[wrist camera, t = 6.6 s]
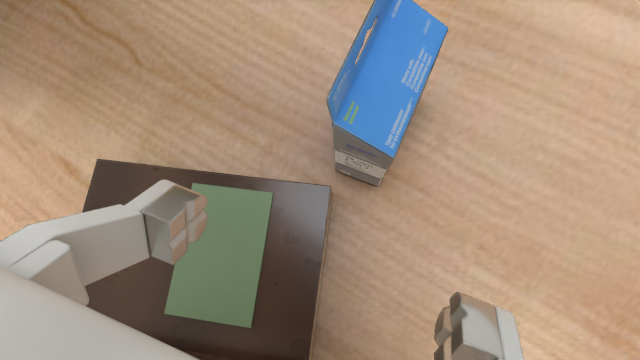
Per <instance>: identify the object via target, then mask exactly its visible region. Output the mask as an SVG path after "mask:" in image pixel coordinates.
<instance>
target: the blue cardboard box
mask: <svg viewBox="0 0 640 360" xmlns="http://www.w3.org/2000/svg"><path fill="white" fill-rule="evenodd" d="M376 17H377V18H376ZM375 19H376V21H375ZM374 21H375V24H374V27H373V29H372V31H371V33H370V35H369V37H368V39H367V42H366V44H365V46H364V48H363V50H362V52H361V55H360V57H359V59H358V61H357V63H356V65H355V61H356V58H357V56H358V54H359V52H360V49H361V48H362V46H363V44H364V39H365V35H366V33H367V30H368V29H371V28H372V26H373V23H374ZM447 31H448V28H447V26H445V25H444V24H443V23H441V22H440V21H439V20H437V19H436V18H435V17H433V16H432V15H431V14H429V13H428V12H427V11H425V10H424V9H422V8H421V7H420V6H418V5H417V4H416V3H415V2H413V1H412V0H374V2H373V4H372V6H371V8H370V10H369V12H368V14H367V16H366V18H365V20H364V22H363V24H362V26H361V28H360V30H359V32H358V34H357V36H356V38H355V40H354V42H353V44H352V46H351V48H350V50H349V52H348V54H347V56H346V58H345V60H344V62H343V65H342V67H341V69H340V71H339V73H338V75H337V77H336V79H335V81H334V83H333V85H332V87H331V89H330V92H329V94H328V96H327V98H326V101H327V105H328V109H329V113H330V115H331V119H332V126H333V138H334V150H335V166H336V171H338V172H340V173H342V174H345V175H347V176H350V177H353V178H355V179H358V180H361V181H363V182H366V183H368V184H371V185H374V186H379V184H380V182H381V180H382V178H383V176H384V174H385V172H386V171H387V169H388V167H389V166H390V164H391V162H392V161H393V159H394V157H395V155H396V152H397V150H398V148H399V145H400V143H401V141H402V139H403V137H404V134H405V132H406V130H407V128H408V125H409V123H410V121H411V118H412V116H413V114H414V111H415V109H416V107H417V105H418V102H419V100H420V98H421V95H422V93H423V90H424V88H425V86H426V83H427V81H428V78H429V75H430V73H431V71H432V68H433V66H434V63H435V61H436V58H437V56H438V53H439V51H440V48H441V46H442V43H443V40H444V38H445V36H446V33H447Z"/></svg>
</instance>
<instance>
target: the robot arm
mask: <svg viewBox="0 0 640 360" xmlns="http://www.w3.org/2000/svg"><path fill="white" fill-rule="evenodd" d="M207 205H208V204H207V197H206V196H205V195H203V194H200V193H198V192H196V191H193V190H191V189H188V188H186V187H183V186H181V185H179V184H175V183H173V182H171V181H168V180H166V179H165V180H160V181H159V182H157V183H156V184H154V185H153V186H151V187H150V188H149V189H147V190H146V191H144V192H143V193H142V194H140V195H139V196H137V197H136V198H134V199H133V200H132V201H130V202H129V203H127V204H126V205H124V206H123V205H121V204H119V205H114V206H110V207H105V208H101V209H96V210H92V211H88V212H83V213H79V214H74V215H70V216H66V217H61V218H57V219H52V220H48V221H44V222H39V223H35V224H30V225H27V226H26V227H24V228H22V229H20V230H19V231H17V232H15V233H14V234H12V235H10V236H8V237H7V238H5V239H3V240H2V241H0V360H199V359H197V358H195V357H193V356H191V355H189V354H187V353H185V352H182V351H180V350H178V349H176V348H174V347H172V346H170V345H168V344H165V343H163V342H161V341H159V340H157V339H155V338H153V337H150V336H148V335H146V334H144V333H142V332H140V331H138V330H136V329H133V328H131V327H129V326H127V325H125V324H123V323H121V322H118V321H116V320H114V319H112V318H110V317H108V316H106V315H104V314H101V313H99V312H97V311H95V310H93V309H91V308H89V307H87V306H86V305H87V304H88V303H89V297H88V294H87V291H86V288H85V286H86V285H88V284H90V283H93V282H95V281H97V280H100V279H102V278H104V277H106V276H109V275H111V274H113V273H115V272H118V271H120V270H122V269H125V268H127V267H129V266H131V265H134V264H136V263H138V262H140V261H143V260H145V259H147V258H149V257H150V256H151V257H154V258H157V259H159V260H162V261H164V262H167V263H169V264H172V265H174V264H175V263H176V262H177V261H178V260H179V259H180V258H181V257H182V256H183V255H184V254H185V253H186V252H187V247H188V244H190V243H193V242H196V241H197V240H198V239H199V238H200V237H201V235H202V234H203V232H204V230H205V228H206V225H207V221H208V215H207V213H206V212H205V210H204V208H205V207H206V206H207ZM434 339H435V341H436V343H437V344H438V346H439V348H438V349H437V350H436V352H435V353H434V360H524V356H523V352H522V348H521V343H520V339H519V335H518V330H517V326H516V322H515V317H514V315H513V313H512V312H510V311H508V310H505V309H502V308H500V307H497V306H494V305H491V304H489V303H486V302H483V301H481V300H478V299H475V298H473V297H470V296H467V295H465V294H462V293H459V292H456V293H454V294H453V295H452V297H451V298H450V306H448V307H445V308H443V309H442V311H441V312H440V314H439V316H438V319H437V322H436V326H435V337H434Z"/></svg>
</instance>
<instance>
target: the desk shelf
mask: <svg viewBox="0 0 640 360" xmlns="http://www.w3.org/2000/svg"><path fill="white" fill-rule="evenodd" d="M165 179H166V180H168V181H171V182H173V183H175V184H179V185H181V186H183V187H186V188H188V189H191V190H193V191H196V192H198V193H200V194H203V195H205V196H206V197H207V204H208V205H207V206H206V207H205V208H204V210H205V212H206V213H207V215H208V221H207V225H206V228H205V230H204V232H203V234H202V235H201V237H200V238H199V239H198V240H197V241H196V242H193V243H190V244H188V247H187V252H186V253H185V254H184V255H183V256H182V257H181V258H180V259H179V260H178V261H177V262H176V263H175V264H174V265H172V264H169V263H167V262H164V261H162V260H159V259H157V258H154V257H151V256H150V257H149V258H147V259H145V260H143V261H140V262H138V263H136V264H134V265H131V266H129V267H127V268H125V269H122V270H120V271H118V272H115V273H113V274H111V275H109V276H106V277H104V278H102V279H100V280H97V281H95V282H93V283H90V284H88V285H86V286H85V288H86V291H87V294H88V297H89V303H88V304H87V305H86V306H87V307H89V308H91V309H93V310H95V311H97V312H99V313H101V314H104V315H106V316H108V317H110V318H112V319H114V320H116V321H118V322H121V323H123V324H125V325H127V326H129V327H131V328H133V329H136V330H138V331H140V332H142V333H144V334H146V335H148V336H150V337H153V338H155V339H157V340H159V341H161V342H163V343H165V344H168V345H170V346H172V347H174V348H176V349H178V350H180V351H182V352H185V353H187V354H189V355H191V356H193V357H195V358H197V359H199V360H312V353H313V345H314V337H315V329H316V321H317V313H318V305H319V298H320V290H321V282H322V274H323V266H324V258H325V251H326V243H327V235H328V227H329V219H330V211H331V203H332V196H333V193H332V188H331V186H326V185H317V184H308V183H300V182H291V181H283V180H274V179H266V178H257V177H249V176H240V175H231V174H223V173H214V172H206V171H197V170H189V169H180V168H172V167H163V166H154V165H146V164H137V163H129V162H120V161H112V160H103V159H97V162H96V165H95V169H94V173H93V176H92V180H91V183H90V187H89V190H88V194H87V197H86V201H85V204H84V208H83V211H82V213H83V212H88V211H92V210H96V209H101V208H105V207H110V206H114V205H119V204H121V205H123V206H124V205H126V204H127V203H129V202H130V201H132V200H133V199H134V198H136V197H137V196H139V195H140V194H142V193H143V192H144V191H146V190H147V189H149V188H150V187H151V186H153V185H154V184H156V183H157V182H159V181H160V180H165Z"/></svg>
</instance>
